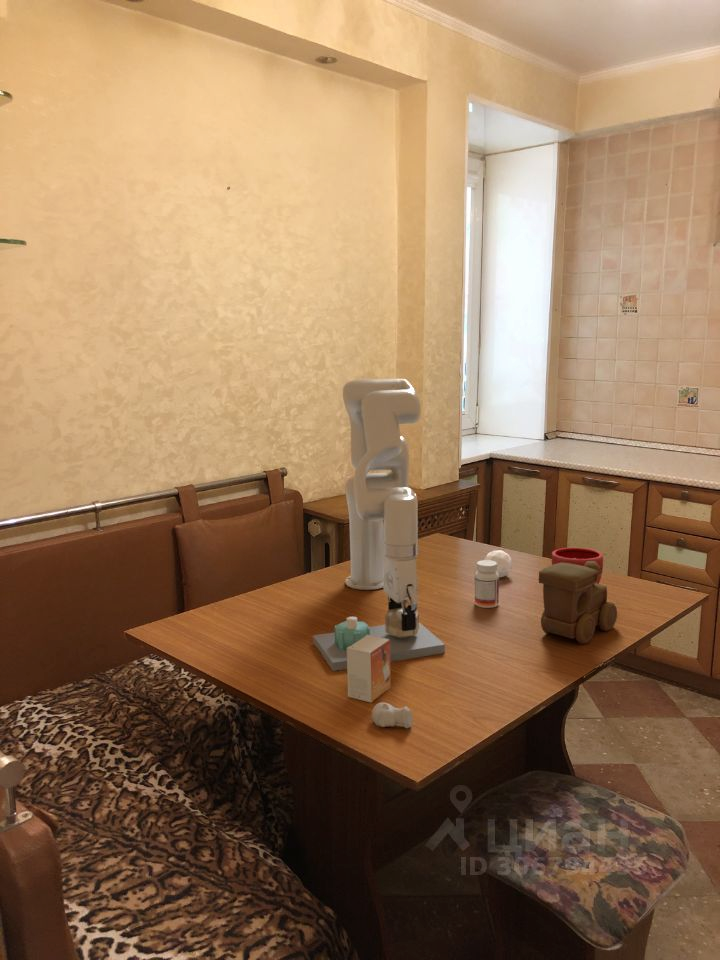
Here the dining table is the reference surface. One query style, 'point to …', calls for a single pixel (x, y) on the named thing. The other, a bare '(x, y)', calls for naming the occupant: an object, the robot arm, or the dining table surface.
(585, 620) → the wooden toy train
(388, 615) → the wooden gear
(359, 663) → the small box
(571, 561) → the plant pot
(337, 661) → the gear board
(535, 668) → the dining table surface
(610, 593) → the dining table surface
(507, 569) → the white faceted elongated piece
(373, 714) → the pale two-lobed sculpture
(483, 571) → the pill bottle
